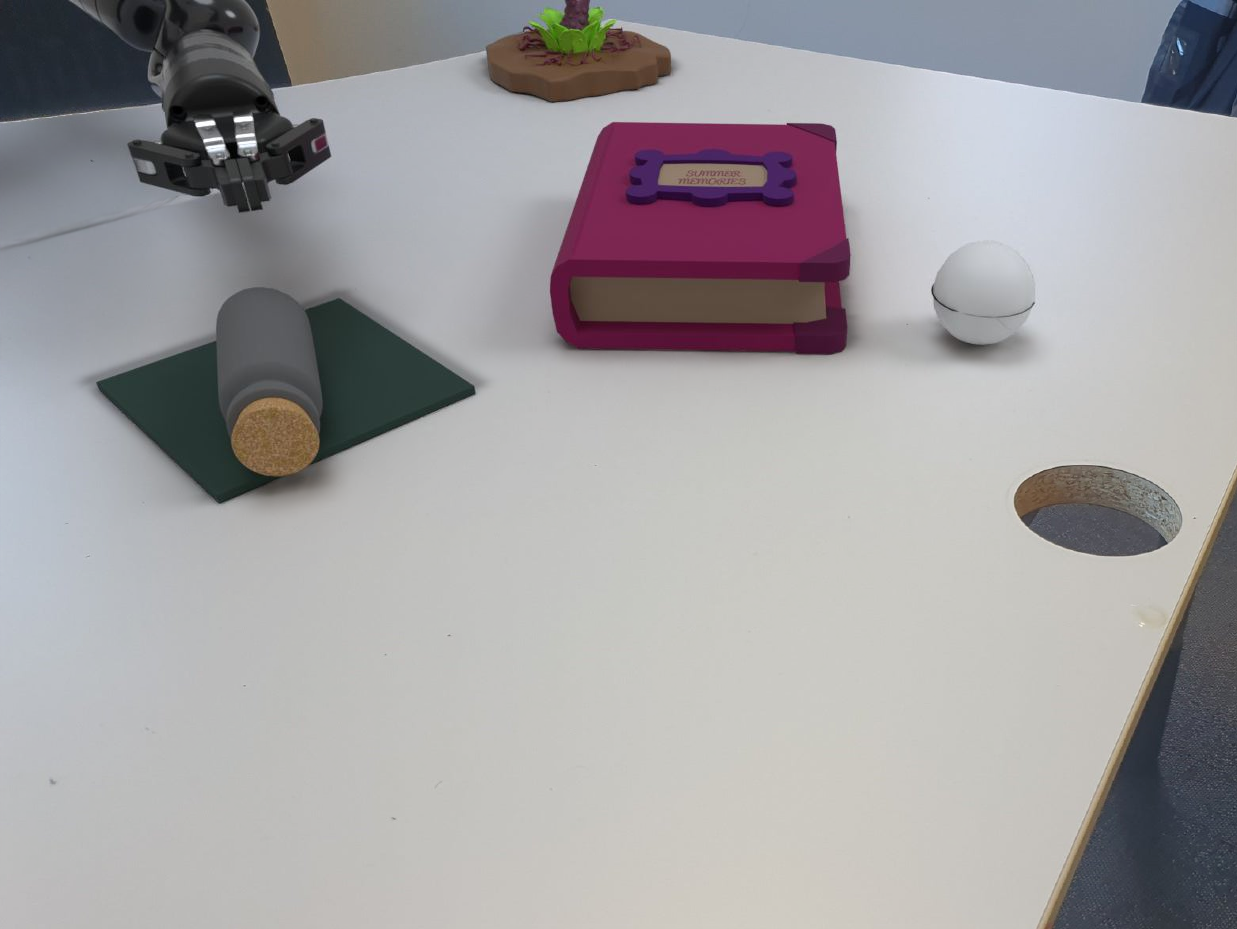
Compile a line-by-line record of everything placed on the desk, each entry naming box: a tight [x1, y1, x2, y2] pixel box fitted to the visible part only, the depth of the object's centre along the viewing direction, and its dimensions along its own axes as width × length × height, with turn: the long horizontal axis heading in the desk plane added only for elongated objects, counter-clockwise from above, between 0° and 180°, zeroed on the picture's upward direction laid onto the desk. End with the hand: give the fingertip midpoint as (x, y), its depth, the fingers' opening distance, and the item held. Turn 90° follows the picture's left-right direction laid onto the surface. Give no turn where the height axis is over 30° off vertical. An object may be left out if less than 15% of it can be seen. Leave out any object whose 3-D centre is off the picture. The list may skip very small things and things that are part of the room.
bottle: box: [215, 286, 323, 477], centre depth 70 cm, size 6×6×15 cm
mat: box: [95, 297, 477, 504], centre depth 76 cm, size 18×18×1 cm
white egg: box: [930, 240, 1036, 346], centre depth 80 cm, size 10×7×7 cm
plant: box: [485, 0, 672, 103], centre depth 127 cm, size 20×20×11 cm
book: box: [549, 121, 852, 355], centre depth 89 cm, size 21×28×8 cm
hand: (246, 196), depth 70 cm, fingers closed
